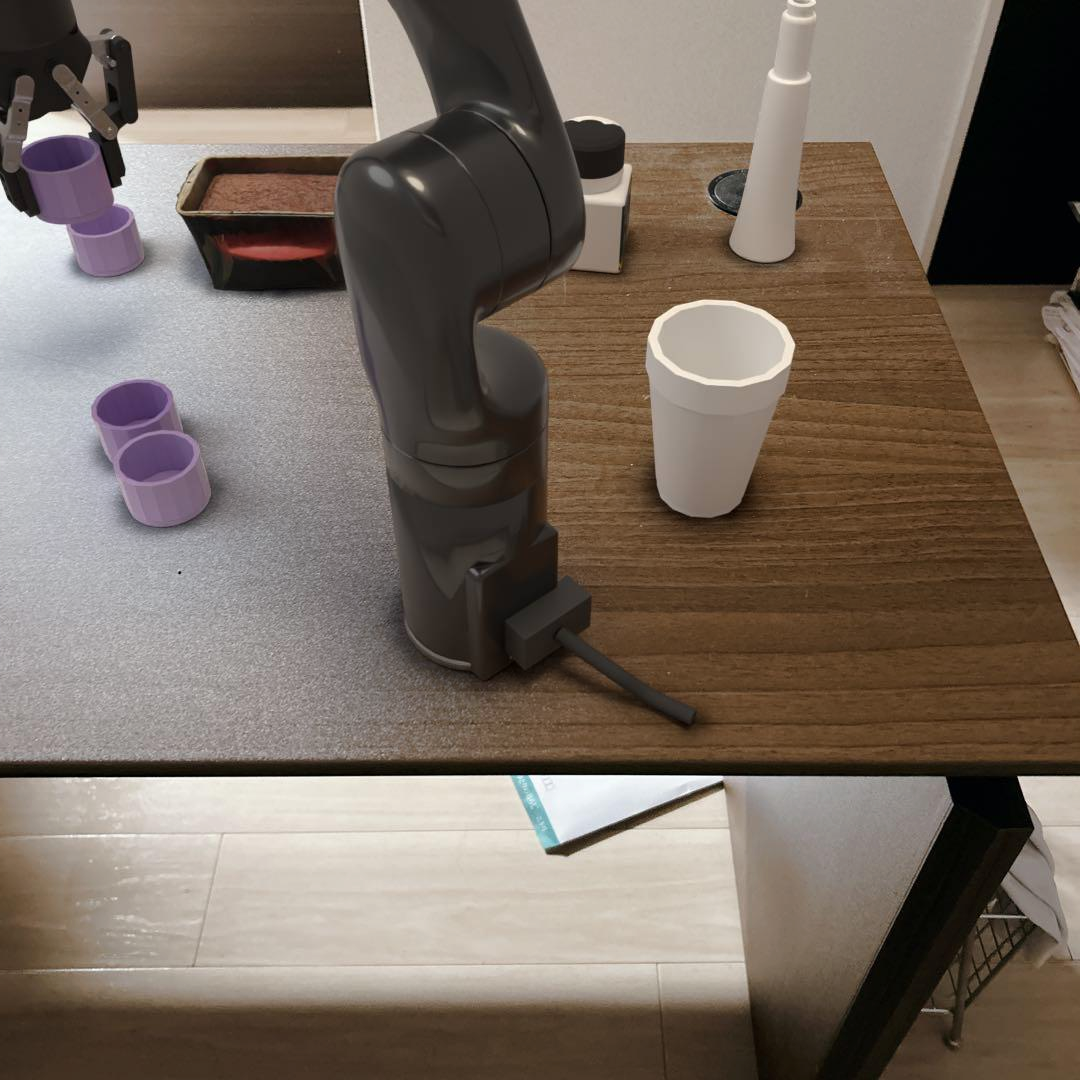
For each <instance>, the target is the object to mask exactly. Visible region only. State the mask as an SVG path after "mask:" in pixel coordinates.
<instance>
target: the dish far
mask: <svg viewBox="0 0 1080 1080" xmlns="http://www.w3.org/2000/svg"><path fill="white" fill-rule="evenodd" d="M65 228H66V232H67V235H68V238H69V240H70V244H71V246H72V250H73V252H74V256H75V258H76V261H77V264H78V265H79V268H80V269H81V271H83V273H85V274H87V275H90V276H94V277H101V278H102V277H103V278H105V277H115V276H119V275H123V274H126V273H129V272H131V271H134V269H136V268H138V266H140V265H141V264H142V262H143V261H144V259H145V255H146V253H145V250H144V245H143V242H142V238H141V235H140V234H141V233H140V231H139V227H138V224H137V220H136V217H135V214H134V211H133V210H131V208H129V207H128V206H126V205H123V204H120V203H119V204H118V203H113V205H112V207H111V208H110V209H109V210H108V211H107V212H106V213H104V214H103V215H101V216H99V217H97V218H95V219H92V220H89V221H86V222H82V223H77V224H68V225H65Z"/></svg>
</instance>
